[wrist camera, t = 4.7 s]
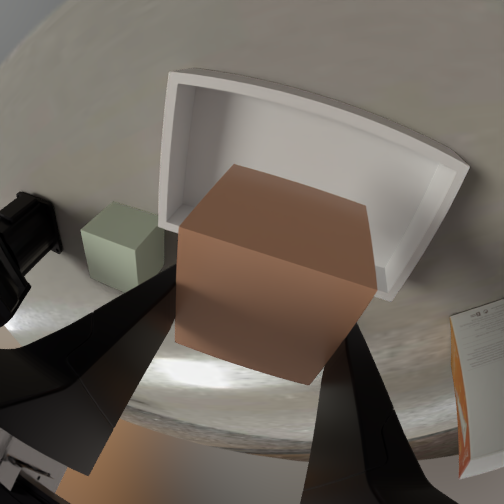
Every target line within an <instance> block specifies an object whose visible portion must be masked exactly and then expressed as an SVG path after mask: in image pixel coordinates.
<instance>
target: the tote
mask: <svg viewBox="0 0 504 504" xmlns="http://www.w3.org/2000/svg"><path fill="white" fill-rule="evenodd" d="M233 164H236V165H240V166H243V167H247V168H251V169H254V170H258V171H261V172H265V173H268V174H271V175H275V176H278V177H281V178H285V179H288V180H291V181H294V182H298V183H301V184H304V185H307V186H310V187H313V188H316V189H319V190H322V191H325V192H328V193H331V194H334V195H337V196H340V197H343V198H346V199H349V200H351V201H354V202H357V203H360V204H363V205H365V206H366V209H367V215H368V221H369V227H370V233H371V240H372V247H373V255H374V262H375V271H376V280H377V289H378V290H377V292H376V294H375V295H374V297H377V298H380V299H384V300H387V301H390V302H392V300H393V299H394V297H395V296H396V295H397V293H398V292H399V290H400V289H401V287H402V286H403V284H404V283H405V281H406V280H407V278H408V277H409V275H410V274H411V272H412V271H413V269H414V268H415V266H416V264H417V263H418V261H419V260H420V258H421V257H422V255H423V253H424V252H425V250H426V248H427V247H428V245H429V243H430V242H431V240H432V238H433V237H434V235H435V233H436V231H437V230H438V228H439V226H440V224H441V223H442V221H443V219H444V217H445V215H446V214H447V212H448V210H449V208H450V206H451V204H452V202H453V200H454V198H455V197H456V195H457V193H458V191H459V189H460V187H461V185H462V182H463V180H464V178H465V176H466V174H467V172H468V170H469V168H470V166H469V165H468V164H467V163H466V162H465V161H464V160H463V159H462V158H460V157H459V156H458V155H457V154H456V153H455V152H454V151H453V150H452V149H450V148H448V147H446V146H444V145H443V144H441V143H439V142H437V141H435V140H433V139H431V138H429V137H426V136H424V135H422V134H420V133H418V132H416V131H414V130H412V129H409V128H407V127H405V126H403V125H400V124H398V123H396V122H393V121H391V120H388V119H386V118H384V117H381V116H379V115H376V114H374V113H371V112H368V111H366V110H363V109H360V108H358V107H355V106H352V105H349V104H346V103H343V102H340V101H337V100H334V99H331V98H328V97H325V96H322V95H318V94H315V93H312V92H308V91H305V90H301V89H298V88H294V87H290V86H286V85H282V84H278V83H274V82H270V81H265V80H261V79H256V78H252V77H247V76H242V75H236V74H231V73H225V72H219V71H213V70H206V69H199V68H188V69H181V70H175V71H169V76H168V84H167V92H166V101H165V110H164V120H163V132H162V144H161V159H160V177H159V204H158V227H160V228H163V229H166V230H169V231H172V232H175V233H178V231H179V226H180V225H181V223H182V222H183V221H184V220H185V219H186V217H187V216H188V215H189V214H190V213H191V212H192V210H193V209H194V208H195V207H196V206H197V205H198V203H199V202H200V201H201V200H202V199H203V198H204V197H205V195H206V194H207V193H208V192H209V191H210V190H211V189H212V187H213V186H214V185H215V184H216V183H217V182H218V181H219V180H220V178H221V177H222V176H223V175H224V174H225V173H226V172H227V171H228V170H229V169H230V167H231V166H232V165H233Z"/></svg>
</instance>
